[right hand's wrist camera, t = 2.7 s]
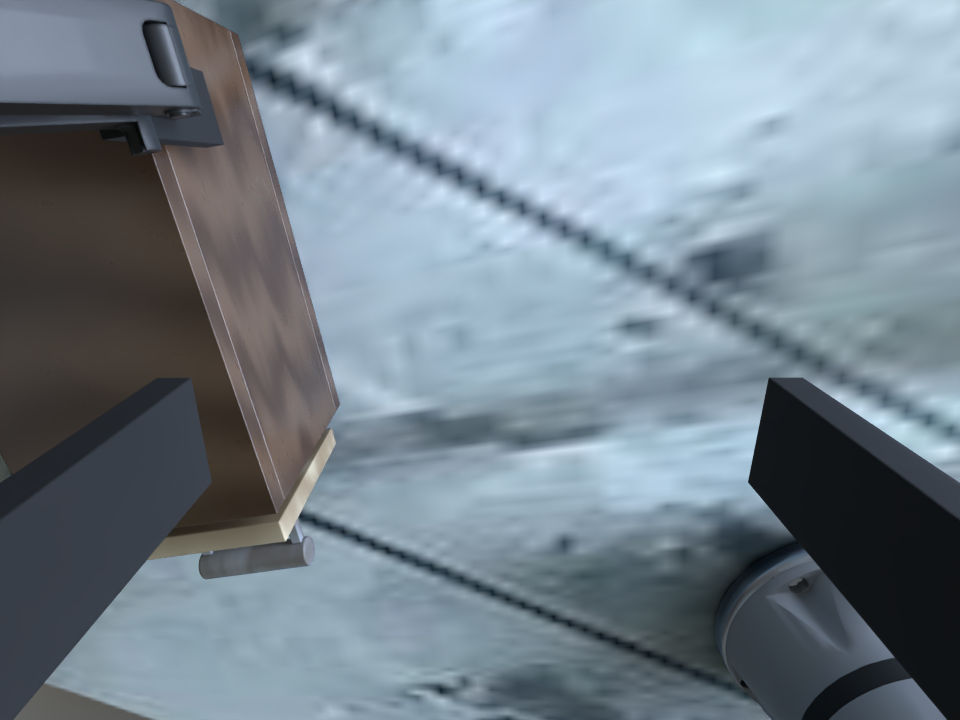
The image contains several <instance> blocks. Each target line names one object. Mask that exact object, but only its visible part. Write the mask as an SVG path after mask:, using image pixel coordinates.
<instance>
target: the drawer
mask: <svg viewBox="0 0 960 720" xmlns="http://www.w3.org/2000/svg"><path fill="white" fill-rule="evenodd" d="M335 444H336V442H335V439H334V435H333V432H332V429H331V428H330V429H325V431H324V433H323V435H322V436H321V438H320V440H319V441H318V443H317V445H316V447H315V448H314V450H313V452H312V454H311V455H310V457H309V459H308V460H307V462H306V464H305V466H304V467H303V469H302V471H301V473H300V474H299V476H298V478H297V480H296V481H295V483H294V485H293V486H292V488H291V490H290V492H289V493H288V495H287V497H286V499H285V500H284V503H283V504H282V506H281V508H280V510H279V511H278V513H277V514H272V515H265V516H258V517H251V518H243V519H236V520H229V521H222V522H215V523H207V524H200V525H193V526H186V527H178V528H173V529H172V531H171V532H170V533H169V534H168V535H167V536H166V538H165V539H164V540H163V541H162V542H161V544H160V545H159V546H158V547H157V548H156V550H155V551H154V552H153V553H152V554H151V556H150V557H149V558H148V559H147V560H151V559H159V558H166V557H173V556H181V555H188V554H196V553H202V555H201V557H200V561H199V572H200V575H201V576H202V578H204V579H213V578H220V577H228V576H236V575H243V574H251V573H258V572H266V571H273V570H281V569H288V568H296V567H303V566H310V565H311V564H312V563H313V560H314V556H315V547H314V542H313V540H312V538H311V537H309V536H306V537H304V535H303V532H302V529H301V526H300V523H299V520H298V517H299V515H300V513H301V511H302V509H303V507H304V505H305V503H306V501H307V499H308V497H309V495H310V493H311V491H312V489H313V487H314V485H315V483H316V481H317V479H318V478H319V476H320V474H321V472H322V470H323V468H324V466H325V464H326V462H327V460H328V458H329V456H330V454H331V452H332V450H333V448H334V446H335ZM288 536H290V539H287V538H288Z"/></svg>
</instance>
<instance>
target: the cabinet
mask: <svg viewBox="0 0 960 720" xmlns="http://www.w3.org/2000/svg"><path fill="white" fill-rule="evenodd" d="M154 1H159V2H163V3H166V4H168V5H170V6H171V8H172V11H173V14H174V18H175V21H176V24H177V28H178V31H179V34H180V37H181V40H182V44H183V47H184V50H185V54H186V57H187V60H188V63H189V67H191V68H194V69H197V70H200V71H202V72H203V75H204V79H205V82H206V85H207V89H208V92H209V95H210V99H211V102H212V105H213V109H214V112H215V115H216V119H217V122H218V126H219V129H220V132H221V136H222V139H223V142H224V145H220V146H214V147H209V148H202V147H188V146H175V145H161V144H160V145H161V148H162V151H161V152H157V153H153V154H147V155H139V156H132V155H131V152H130V149H129V146H128V144H127V142H121V141H108V140H103V139H102V137H101V134H100V131H99V130H92V131H74V132H56V133H37V134H19V135H1V136H0V453H1V455H2V457H3V459H4V461H5V463H6V464H7V466H8V468H9V470H10V472H11V474H12V475H13V474H14V473H16V472H17V471H19V470H20V469H22V468H23V467H25V466H26V465H28V464H29V463H31V462H32V461H34V460H35V459H37V458H38V457H40V456H41V455H43V454H44V453H46V452H47V451H49V450H50V449H52V448H53V447H55V446H56V445H58V444H59V443H61V442H62V441H64V440H65V439H67V438H68V437H70V436H71V435H73V434H74V433H76V432H77V431H79V430H80V429H82V428H83V427H85V426H86V425H88V424H89V423H91V422H92V421H94V420H95V419H97V418H98V417H100V416H101V415H103V414H104V413H106V412H107V411H109V410H110V409H111V408H113V407H114V406H116V405H117V404H119V403H120V402H122V401H123V400H125V399H126V398H128V397H129V396H131V395H132V394H134V393H135V392H137V391H138V390H140V389H141V388H143V387H144V386H146V385H147V384H149V383H150V382H152V381H153V380H155V379H156V378H191V380H192V385H193V390H194V395H195V400H196V405H197V410H198V415H199V420H200V425H201V430H202V435H203V440H204V445H205V450H206V455H207V460H208V465H209V470H210V475H211V480H212V483H211V484H210V485H209V486H208V487H207V489H206V490H205V491H204V492H203V493H202V495H201V496H200V497H199V498H198V499H197V501H196V502H195V503H194V504H193V505H192V507H191V508H190V509H189V510H188V511H187V513H186V514H185V515H184V516H183V517H182V519H181V520H180V521H179V522H178V523H177V525H176V526H175V527H174V528H178V527H186V526H193V525H200V524H207V523H215V522H222V521H229V520H236V519H243V518H251V517H258V516H265V515H272V514H277V513H278V511H279V510H280V508H281V506H282V504H283V503H284V500H285V499H286V497H287V495H288V493H289V492H290V490H291V488H292V486H293V485H294V483H295V481H296V480H297V478H298V476H299V474H300V473H301V471H302V469H303V467H304V466H305V464H306V462H307V460H308V459H309V457H310V455H311V454H312V452H313V450H314V448H315V447H316V445H317V443H318V441H319V440H320V438H321V436H322V435H323V433H324V431H325V429H326V428H327V426H328V424H329V422H330V421H331V419H332V417H333V415H334V414H335V412H336V410H337V409H338V407H339V405H340V403H339V399H338V396H337V392H336V389H335V385H334V381H333V378H332V374H331V370H330V367H329V363H328V359H327V356H326V352H325V349H324V345H323V341H322V338H321V334H320V330H319V327H318V323H317V320H316V316H315V312H314V309H313V305H312V301H311V298H310V294H309V291H308V287H307V283H306V280H305V276H304V272H303V269H302V265H301V262H300V258H299V254H298V251H297V247H296V243H295V240H294V236H293V233H292V229H291V225H290V222H289V218H288V214H287V211H286V207H285V204H284V200H283V196H282V193H281V189H280V185H279V182H278V178H277V175H276V171H275V167H274V164H273V160H272V156H271V153H270V149H269V146H268V142H267V138H266V135H265V131H264V127H263V124H262V120H261V117H260V113H259V109H258V106H257V102H256V98H255V95H254V91H253V88H252V84H251V80H250V77H249V73H248V69H247V66H246V62H245V59H244V55H243V51H242V48H241V44H240V40H239V37H238V34H236V33H234V32H232V31H230V30H228V29H226V28H225V27H223V26H221V25H219V24H217V23H215V22H213V21H211V20H209V19H207V18H205V17H204V16H202V15H200V14H198V13H196V12H194V11H192V10H190V9H188V8H186V7H185V6H183V5H181V4H179V3H177V2H175V1H173V0H154Z"/></svg>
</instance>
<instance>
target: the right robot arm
mask: <svg viewBox="0 0 960 720" xmlns="http://www.w3.org/2000/svg"><path fill="white" fill-rule="evenodd" d="M211 483H212V480H211V475H210V470H209V465H208V460H207V455H206V450H205V445H204V440H203V435H202V430H201V425H200V420H199V415H198V410H197V405H196V400H195V395H194V390H193V385H192V380H191V378H156V379H155V380H153V381H152V382H150V383H149V384H147V385H146V386H144V387H143V388H141V389H140V390H138V391H137V392H135V393H134V394H132V395H131V396H129V397H128V398H126V399H125V400H123V401H122V402H120V403H119V404H117V405H116V406H114V407H113V408H111V409H110V410H109V411H107V412H106V413H104V414H103V415H101V416H100V417H98V418H97V419H95V420H94V421H92V422H91V423H89V424H88V425H86V426H85V427H83V428H82V429H80V430H79V431H77V432H76V433H74V434H73V435H71V436H70V437H68V438H67V439H65V440H64V441H62V442H61V443H59V444H58V445H56V446H55V447H53V448H52V449H50V450H49V451H47V452H46V453H44V454H43V455H41V456H40V457H38V458H37V459H35V460H34V461H32V462H31V463H29V464H28V465H26V466H25V467H23V468H22V469H20V470H19V471H17V472H16V473H14V474H13V475H11V476H10V477H8V478H7V479H5V480H4V481H2V482H1V483H0V720H13V719H14V718H15V717H16V716H17V715H18V713H19V712H20V711H21V710H22V709H23V707H24V706H25V705H26V704H27V703H28V701H29V700H30V699H31V698H32V697H33V695H34V694H35V693H36V692H37V691H38V689H39V688H40V687H41V686H42V685H43V683H44V682H45V681H46V680H47V679H48V677H49V676H50V675H51V674H52V673H53V672H54V670H55V669H56V668H57V667H58V666H59V664H60V663H61V662H62V661H63V660H64V658H65V657H66V656H67V655H68V654H69V652H70V651H71V650H72V649H73V648H74V646H75V645H76V644H77V643H78V642H79V640H80V639H81V638H82V637H83V636H84V634H85V633H86V632H87V631H88V630H89V628H90V627H91V626H92V625H93V624H94V623H95V621H96V620H97V619H98V618H99V617H100V615H101V614H102V613H103V612H104V611H105V609H106V608H107V607H108V606H109V605H110V603H111V602H112V601H113V600H114V599H115V597H116V596H117V595H118V594H119V593H120V591H121V590H122V589H123V588H124V587H125V585H126V584H127V583H128V582H129V581H130V579H131V578H132V577H133V576H134V575H135V574H136V572H137V571H138V570H139V569H140V568H141V566H142V565H143V564H144V563H145V562H146V560H147V559H148V558H149V557H150V556H151V554H152V553H153V552H154V551H155V550H156V548H157V547H158V546H159V545H160V544H161V542H162V541H163V540H164V539H165V538H166V536H167V535H168V534H169V533H170V532H171V531H172V529H173V528H174V527H175V526H176V525H177V523H178V522H179V521H180V520H181V519H182V517H183V516H184V515H185V514H186V513H187V511H188V510H189V509H190V508H191V507H192V505H193V504H194V503H195V502H196V501H197V499H198V498H199V497H200V496H201V495H202V493H203V492H204V491H205V490H206V489H207V487H208V486H209V485H210V484H211ZM748 483H749V484H750V485H751V486H752V487H753V489H754V490H755V491H756V492H757V493H758V495H759V496H760V497H761V498H762V499H763V501H764V502H765V503H766V504H767V505H768V507H769V508H770V509H771V510H772V511H773V513H774V514H775V515H776V516H777V517H778V519H779V520H780V521H781V522H782V523H783V525H784V526H785V527H786V528H787V529H788V531H789V532H790V533H791V534H792V535H793V536H794V538H795V539H796V540H797V541H798V542H799V543H796V544H793V545H790V546H787V547H784V548H782V549H780V550H777V551H775V552H773V553H771V554H769V555H767V556H766V557H764V558H762V559H761V560H759V561H758V562H756V563H755V564H753V565H752V566H751V567H749V568H748V569H747V570H746V571H745V572H744V573H743V574H741V575H740V576H739V578H738V579H737V580H736V581H735V582H734V583H733V584H732V586H731V587H730V588H729V589H728V591H727V593H726V594H725V596H724V597H723V599H722V601H721V603H720V606H719V608H718V611H717V615H716V620H715V639H716V643H717V647H718V649H719V652H720V654H721V656H722V658H723V660H724V662H725V664H726V666H727V668H728V670H729V672H730V674H731V676H732V677H733V679H734V680H735V682H736V683H737V684H738V685H739V686H740V687H741V688H742V689H743V690H744V691H745V692H746V693H747V694H748V695H749V696H750V697H751V698H752V699H753V700H755V701H757V702H758V703H759V705H760V706H761V707H762V709H763V710H764V711H765V712H766V714H767V715H768V716H769V717H770V718H771V719H772V720H960V483H959V482H958V481H956V480H955V479H953V478H952V477H950V476H949V475H947V474H946V473H944V472H943V471H941V470H940V469H938V468H937V467H935V466H934V465H932V464H931V463H929V462H928V461H926V460H925V459H923V458H922V457H920V456H919V455H917V454H916V453H914V452H913V451H911V450H910V449H908V448H907V447H905V446H904V445H902V444H901V443H899V442H898V441H896V440H895V439H893V438H892V437H890V436H889V435H887V434H886V433H884V432H883V431H881V430H880V429H878V428H877V427H875V426H874V425H872V424H871V423H869V422H868V421H866V420H865V419H863V418H862V417H860V416H859V415H857V414H856V413H854V412H853V411H851V410H850V409H849V408H847V407H846V406H844V405H843V404H841V403H840V402H838V401H837V400H835V399H834V398H832V397H831V396H829V395H828V394H826V393H825V392H823V391H822V390H820V389H819V388H817V387H816V386H814V385H813V384H811V383H810V382H808V381H807V380H805V379H804V378H769V380H768V385H767V390H766V395H765V400H764V405H763V410H762V415H761V420H760V425H759V430H758V435H757V440H756V445H755V450H754V455H753V460H752V465H751V470H750V475H749V480H748Z"/></svg>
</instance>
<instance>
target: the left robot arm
mask: <svg viewBox="0 0 960 720" xmlns="http://www.w3.org/2000/svg"><path fill="white" fill-rule="evenodd" d="M92 130H99V131H100V134H101V137H102V139H103V140H108V141H121V142H127V144H128V146H129V149H130V152H131V155H132V156H139V155H147V154H153V153H157V152H161V151H162V148H161V145H175V146H188V147H202V148H209V147H214V146H220V145H224V142H223V139H222V136H221V132H220V129H219V126H218V122H217V119H216V115H215V112H214V109H213V105H212V102H211V99H210V95H209V92H208V89H207V85H206V82H205V79H204V75H203V72H202V71H200V70H197V69H194V68H191V67H189V63H188V60H187V57H186V54H185V50H184V47H183V44H182V40H181V37H180V34H179V31H178V28H177V24H176V21H175V18H174V14H173V11H172V8H171V6H170V5H168V4H166V3H163V2H159V1H154V0H0V136H1V135H19V134H37V133H56V132H74V131H92ZM160 144H161V145H160Z"/></svg>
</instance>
